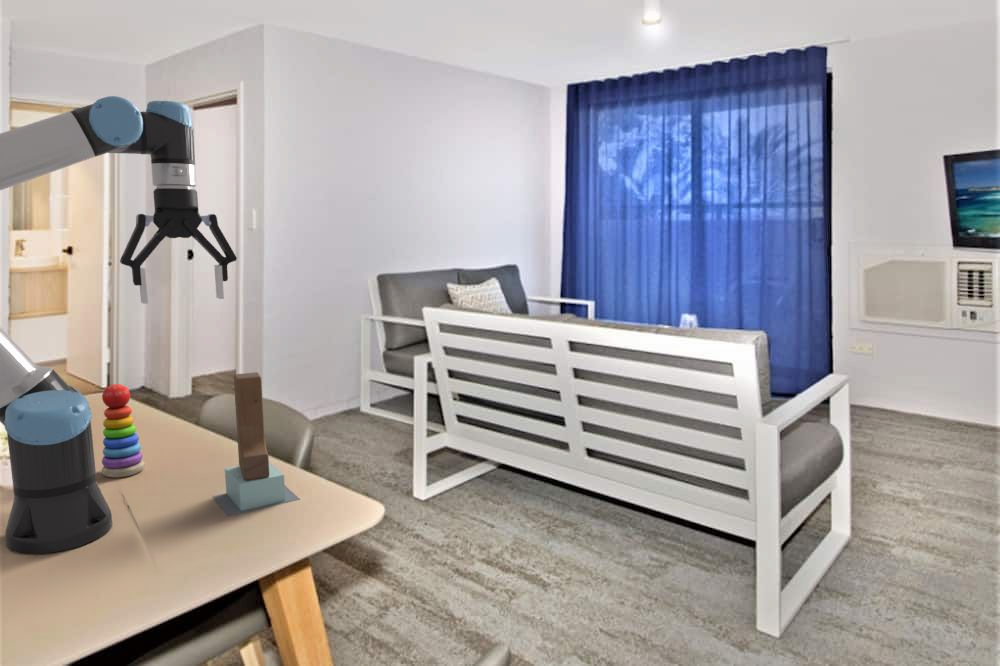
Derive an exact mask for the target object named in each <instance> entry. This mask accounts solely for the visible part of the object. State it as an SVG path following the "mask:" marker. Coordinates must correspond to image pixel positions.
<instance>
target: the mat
mask: <svg viewBox="0 0 1000 666" xmlns="http://www.w3.org/2000/svg"><path fill="white" fill-rule="evenodd" d="M212 498H213V499H214V500H215V502H216V503H217V504H218V505H219V507H220V508H221V509H222V510H223V512H224V513H225V515H227V517H231V516H234V515H235V516H236V515H239V514H243V513H247V512H251V511H252V512H253V511H256V510H260V509H261V510H262V509H265V508H269V507H274V506H280V505H283V504H287V503H291V502H297V501H301V499H300V498H299V496H297V494H295V493H294V492H293V491H292V490H291V489H290V488H289V487H288V486H286V485H285V501H281V502H277V503H273V504H268V505H264V506H260V507H255V508H251V509H246V510H242V511H241V510H240V509H239V508H238V506H237V505H236V504H235V503H234V502H233V501H232V499H231V498H230V497H229V496H228V495H227V494H226V493H221V494H218V495H217V494H216V495H212Z"/></svg>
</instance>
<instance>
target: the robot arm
mask: <svg viewBox="0 0 1000 666" xmlns="http://www.w3.org/2000/svg"><path fill="white" fill-rule="evenodd" d="M105 154H127V155H129V154H131V155H134V154H135V155H150V162H151V164H150V165H151V177H152V185H153V186H154V187H156V188H154V190H153V203H154V204H153V205H154V206H153V207H154V213H153V215H146V214H144V213H138V214H137V215H136V217H135V220H136V221H135V227H134V229H133V231H132V234H131V235H130V238H129V239H128V240H129V241H128V242H127V244H126V246H125V249H124V250H123V253H122V255H121V258H120V260H119V262H120V264H122V265H123V266H128V267H130V268H131V275H132V283H133V285H134V286H139V295H140V296H139V297H140V303H142V304H143V305H144V304H149V300H148V298H149V297H148V287H147V286H148V285H147V275H146V273H147V272H146V268H145V267H141V266H142V265H143V264H144V263H145V261H146V260H147V259H148V258H149V256H150V255H151V254H152V253H153V252H154V251H155V249H156V248H157V247H158V246H159V244H160V243H161V242H162V241H163V240H164V239H165V238H169V239H177V238H183V239H189V238H191V237H192V238H193V240H195V241H196V242H197V243H198V244H200V246H201V247H202V248H203V249H204V250H205V251H206V252H207V253H208V254H209V255H210V256H211V257H212V258H213V259H214V260H215V261H216V262H217V263H218V264H214V265H213V267H214V281H215V296H216V299H219V300H224V299H225V297H224V296H225V294H224V293H225V292H224V282H227V281H228V279H229V278H228V277H229V276H228V274H229V273H228V265H229V264H230V263H232V262H236V261H237V259H238V258H237V256H236V254H235V252H234V250H233V248H232V247H231V245H230V243H229V242H228V240H227V239H226V237H225V235H224V233H223V232H222V230H221V228H220V227H219V222H218V216H217V215H216V214H214V213H209V214H207V215H201V214H200V212H199V202H198V199H199V198H198V191H197V189H194V187H197V186H198V184H197V172H196V159H195V158H196V156H195V140H194V127H193V119H192V111H191V108H190V107H189V106H188V105H187V104H186V103H182V102H179V101H173V100H152V101H148V103H146V109H145V111H140V110H139V108H138V107H137V106H136V105H135V104H134V103H133V102H132V101H130V100H128V99H126V98H124V97H120V96H118V95H117V96H116V95H109V96H105V97H101V98H99V99H97V100H96V101H95V102H93V103H92V104H88V105H85V106H82V107H76V108H74V109H73V110H71V111H67V112H63V113H60V114H57V115H54V116H50V117H48V118H45V119H41V120H38V121H35V122H32V123H28V124H27V125H23V126H19V127H16V128H13V129H10V130H7V131H4V132H1V133H0V191H3V190H6V189H8V188H11V187H13V186H17V185H20V184H23V183H25V182H27V181H31V180H33V179H37V178H39V177H42V176H45V175H47V174H50V173H52V172H56V171H59V170H62V169H64V168H68V167H70V166H73V165H75V164H78V163H82V162H84V161H87V160H90V159H93V158H96V157H98V156H102V155H105ZM202 222H203V223H204V225H205V226H206V227H208V228H209V230H210V232H211V233H212V235H213V237H214V239H215V241H216V242H217V243H218V246H219V247H220V248H221V251H222V252H223V254H224V256H223V254H222V253H221V252H220V251H219V250H218V249H217V248H216V247H215V246H214V245H213V244H212V243H211V242H210V241H209V239H207V238H206V236H204V234H203V233H202V232H201V231H200V230H199V229H198V228H199V227H200V225H201V224H202ZM151 223H153V224H154V225H155V226H156V227H157V229H158V230H157V231H156V232H155V233H154V235H153V236H152V237H151V238H150V240H149V241H148V242H147V243H146V245H144V247H143V248H142V249H141V251H140V252H139V253H138V254H137V255H136V256H135V258H134V259H132V257H133V256H134V253H135V251H136V249H137V247H138V244H139V242H140V240H141V238H142V236H143V234H144V232H145V228H146V227H149V226H150V224H151ZM89 404H90V403H89V401H88V399H87V398H86V396H85V395H84V394H82V393H81V392H80V391H79V390H78V389H77V388H76V389H75V388H74V387H73V386H71V385H69V384H67V382H65V380H64V379H63V378H62V377H61V376H60V375H59V374H58V372H56V371H55V370H54V369H53V367H51V366H45V365H44V366H43V365H42V366H41V365H38V364H36V363H35V362H34V361H33V360H32V359H31V358H30V357H29V356H28V355H27V353H25V352H24V350H23V349H21V347H20V346H19V345H18V344H17V343H16V342H15V341H14V340H13V339H12V338H11V337H10V335H8V334H7V332H6V331H4V330H3V328H2V327H1V326H0V423H1V424H2V425H3V427H4V430H5V431H6V436H7V443H8V451H9V453H8V454H9V459H10V470H11V479H12V488H13V496H14V497H13V502H12V505H11V509H10V514H9V517H8V521H7V524H6V526H5V527H6V528H5V534H4V535H5V542H6V543H5V544H6V547H7V549H8V550H9V551H11V552H12V553H13V552H14V553H16V554H23V555H41V554H50V553H57V552H62V551H67V550H70V549H74V548H78V547H81V546H83V545H86V544H89V543H91V542H93V541H96V540H98V539H99V538H101V537H103V536H104V535H106V534H107V533H108V532H109V531H110V530H111V529H112V527H113V516H112V512H111V509H110V507H109V504H108V503H107V501H106V499H105V497H104V494H103V493H102V491H101V489H100V486H99V485H98V483H97V475H96V473H97V472H96V462H95V453H94V441H93V431H92V410H91V407H90V405H89Z"/></svg>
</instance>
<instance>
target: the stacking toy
mask: <svg viewBox="0 0 1000 666" xmlns="http://www.w3.org/2000/svg"><path fill="white" fill-rule="evenodd" d="M101 399H102V401H103V403H104V405H105V406H106V407H107V408H106V409H105V410H104V412H103V415H104V418H105V419H104V420H103V421H102V422H103V423H102V425H103V427H104V429H103V431H102V434H103V436H104V439H103V441H102V444H103V445H104V447H103V449H102V454H103V455H104V456H103V457H102V459H101V464H102V465H103V466H102V468H101V473H102V474H103V476H105V477H107V478H124V477H129V476H134V475H136V474H139V473H141V472H142V471H143V470H144V468H145V465H146V463H145V461H144V460H143V453H142V452H141V450H142V449H141V448H142V447H141V443H139V439H140V437H139V435H138V434H137V433H136V431H137V427H136V425H134V424H133V423H134V420H135V419H134V418H133V416H131V414H132V411H133V409H132V407H130V406H129V405H127V404H128V403H129V402H130V399H131V393H130V390H129V389H128V387H127V386H126V385H123V384H120V383H119V384H118V383H113V384H109V386H107V387H106V388H105V389H104V390H103V392H102V397H101Z"/></svg>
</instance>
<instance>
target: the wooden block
mask: <svg viewBox="0 0 1000 666" xmlns="http://www.w3.org/2000/svg"><path fill="white" fill-rule="evenodd" d="M233 384H234V385H233V387H234V401H235V406H234V407H235V419H236V435H237V450H238V451H237V453H238V466H240V469H241V473H242V476H243V479H244V480H253V479H260V478H267V477H269V462H270V461H269V453H268V450H267V449H268V448H267V444H266V437H265V436H266V435H265V421H264V405H263V404H264V403H263V399H264V398H263V386H262V377H261V375H260V374H259V372H255V371H254V372H247V373H235V374H234V375H233Z"/></svg>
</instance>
